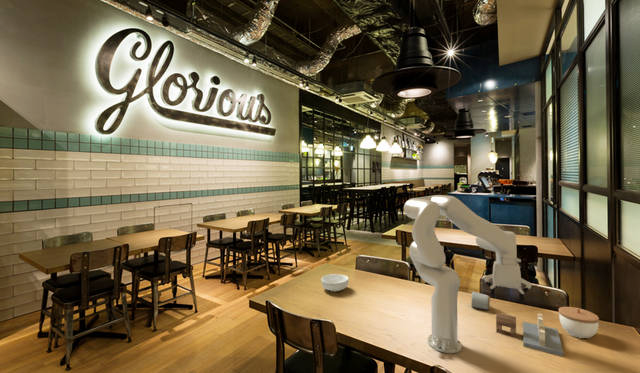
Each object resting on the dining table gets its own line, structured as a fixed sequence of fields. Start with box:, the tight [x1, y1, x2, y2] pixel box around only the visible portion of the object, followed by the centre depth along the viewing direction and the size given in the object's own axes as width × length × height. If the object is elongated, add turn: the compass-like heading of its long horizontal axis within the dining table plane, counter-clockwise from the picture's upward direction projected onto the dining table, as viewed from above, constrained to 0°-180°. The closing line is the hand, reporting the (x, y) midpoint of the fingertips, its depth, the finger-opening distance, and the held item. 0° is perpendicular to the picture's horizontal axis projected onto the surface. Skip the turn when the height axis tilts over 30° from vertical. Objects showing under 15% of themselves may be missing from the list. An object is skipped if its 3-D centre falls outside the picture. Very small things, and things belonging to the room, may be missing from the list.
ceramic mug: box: [470, 291, 491, 311], centre depth 147 cm, size 11×8×8 cm
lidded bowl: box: [558, 306, 600, 339], centre depth 120 cm, size 13×13×11 cm
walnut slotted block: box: [495, 312, 517, 338], centre depth 122 cm, size 4×7×7 cm, turn 55°
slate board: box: [522, 321, 564, 357], centre depth 117 cm, size 20×12×2 cm, turn 145°
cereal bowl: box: [320, 273, 349, 293], centre depth 173 cm, size 17×17×7 cm
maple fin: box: [536, 313, 545, 347], centre depth 116 cm, size 18×2×6 cm, turn 145°
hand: (507, 299), depth 122 cm, fingers open, 9 cm apart
